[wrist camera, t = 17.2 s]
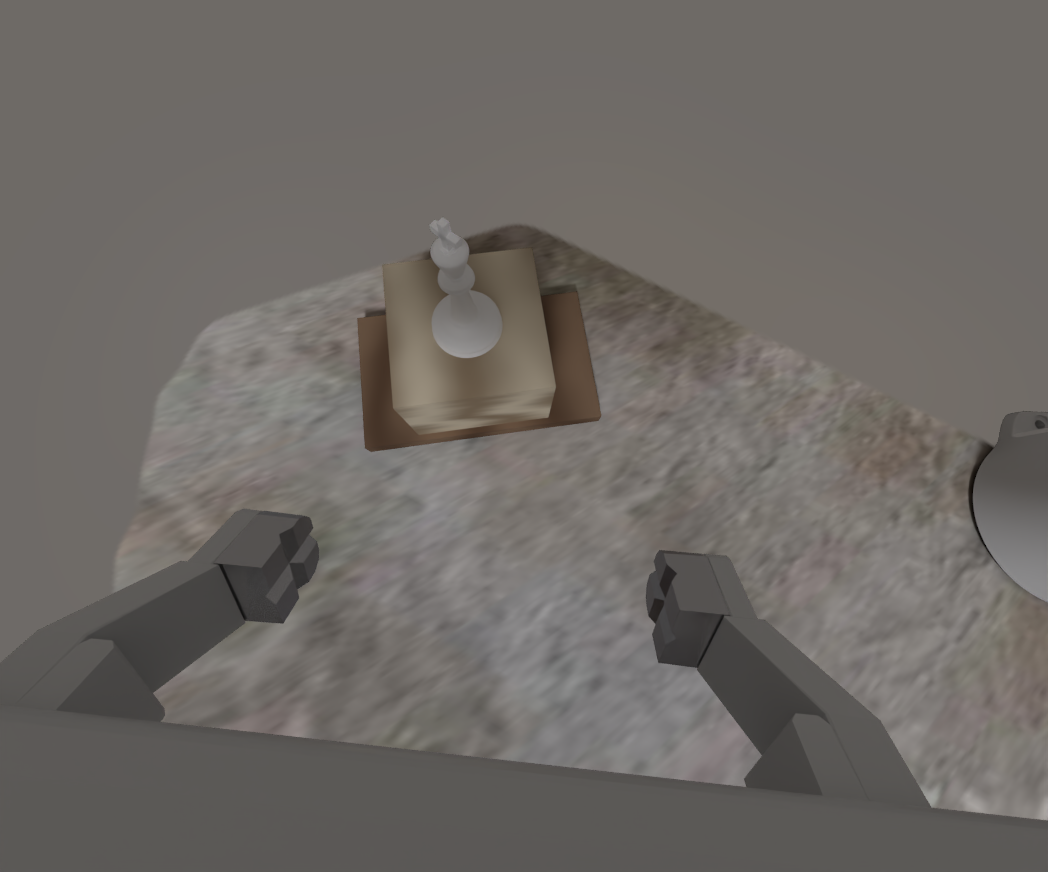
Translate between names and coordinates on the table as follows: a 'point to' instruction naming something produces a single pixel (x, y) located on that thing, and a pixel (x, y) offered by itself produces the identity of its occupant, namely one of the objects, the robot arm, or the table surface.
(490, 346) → the chess piece
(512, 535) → the table surface
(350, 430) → the table surface
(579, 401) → the walnut base
